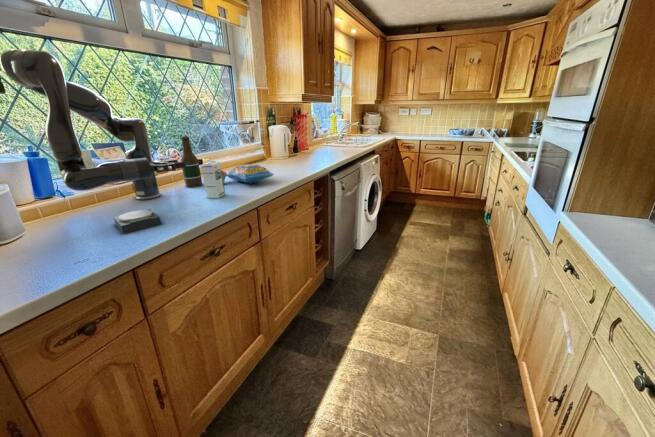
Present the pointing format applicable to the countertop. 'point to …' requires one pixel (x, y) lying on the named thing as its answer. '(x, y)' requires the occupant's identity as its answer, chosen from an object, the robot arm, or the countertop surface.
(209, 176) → the syrup box
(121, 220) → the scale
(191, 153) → the beer bottle
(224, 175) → the cupcake
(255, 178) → the packet
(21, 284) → the countertop surface
